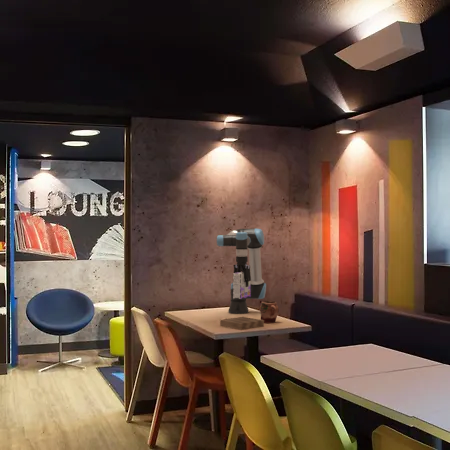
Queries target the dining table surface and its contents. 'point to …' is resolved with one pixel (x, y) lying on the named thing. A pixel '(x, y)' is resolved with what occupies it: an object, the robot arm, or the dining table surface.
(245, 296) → the candy box
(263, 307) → the decorative planter
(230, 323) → the walnut plinth
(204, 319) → the dining table surface
